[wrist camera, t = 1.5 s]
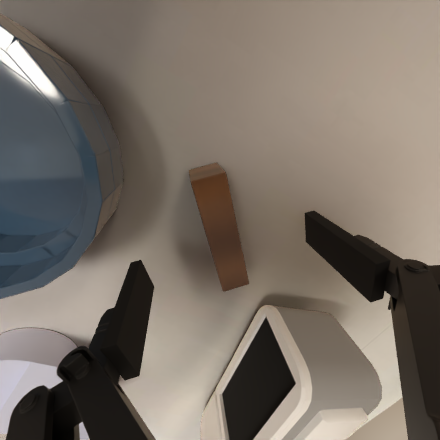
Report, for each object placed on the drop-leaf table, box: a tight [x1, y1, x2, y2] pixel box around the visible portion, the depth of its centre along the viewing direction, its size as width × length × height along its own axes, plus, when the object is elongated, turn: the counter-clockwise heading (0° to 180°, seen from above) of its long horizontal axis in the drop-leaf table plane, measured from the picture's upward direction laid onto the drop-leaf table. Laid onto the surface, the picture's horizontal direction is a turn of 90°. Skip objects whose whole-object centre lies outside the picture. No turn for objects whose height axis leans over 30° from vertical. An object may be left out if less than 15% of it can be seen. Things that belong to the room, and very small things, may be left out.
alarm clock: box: [200, 305, 382, 440], centre depth 27 cm, size 27×9×12 cm, turn 161°
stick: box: [189, 163, 249, 292], centre depth 19 cm, size 11×3×4 cm, turn 13°
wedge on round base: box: [0, 328, 89, 440], centre depth 22 cm, size 9×7×13 cm
